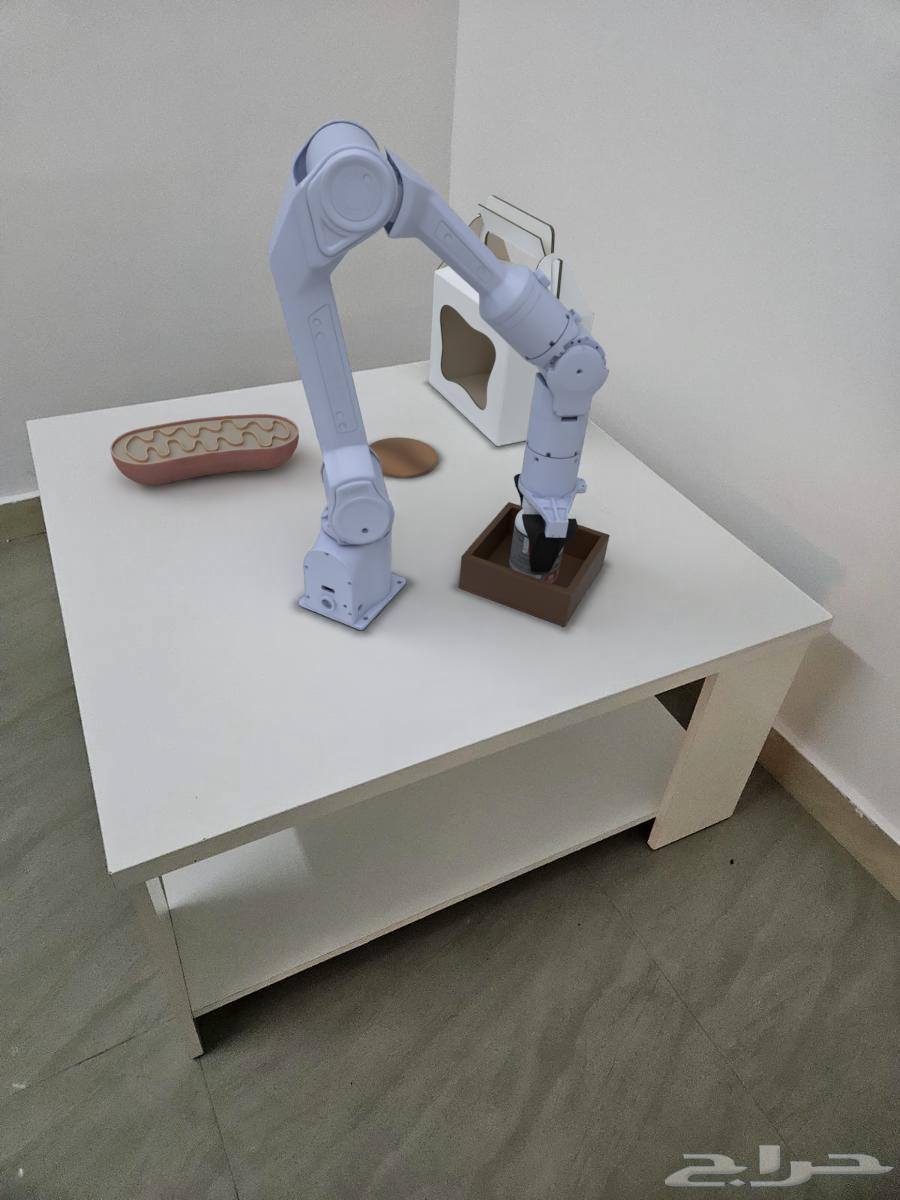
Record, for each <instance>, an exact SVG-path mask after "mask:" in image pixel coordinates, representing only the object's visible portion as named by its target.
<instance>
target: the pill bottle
mask: <svg viewBox="0 0 900 1200" xmlns="http://www.w3.org/2000/svg"><path fill="white" fill-rule="evenodd" d="M522 508H523V509H522V510H521V511H520V512H519V513H518V514H517V516H516V519H515V524H514V532H513V539H512V546H511V553H510V560H509V569H512V570H515V571H518V572H520V573H523V574H526V575H529V576H532V577H535V578H537V579H540V580H543V581H546V582H549V583H551V584H552V583H553V582H554V581H555V580H556V579H557V577H558V574H559V569H560V564H561V559H562V553H563V548H564V546H563V548H562V549H561V551H560V553H559V555H558V557H557V559H556V561H555V563H554V565H553V567H552V569H551V570H550V572H532V571H531V567H530V562H529V539H528V536H527V533H526V531H525V528H524V525H523V520H522V514H539V513H538V511H537V510H536V509H535V508H534V507H533V506H532V504H531V503H530V502H529V501H528V500H527V499H526V498H525V496H524V497H523V503H522Z"/></svg>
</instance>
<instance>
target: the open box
mask: <svg viewBox="0 0 900 1200" xmlns="http://www.w3.org/2000/svg"><path fill="white" fill-rule="evenodd" d="M520 511H521V504H520V505H519V504H517V503H514V502H510V501H508V502H507V503H506V505H504V506H503V508H502V509H501V510H500V511H499V512H498V513H497V515H495V517H494V518H493V519H492V520H491V522H490V523H489V524H488V525H487V526H486V527H485V528H484V530H483V531H482V532H481V533H480V534H478V535H479V536H478V537H477V538H476V539H475V540H474V541H473V542H472V543H471V545H470V546H468V548H467V549H466V550H465V551H464V553H463V554H462V555H461V557H460V567H459V578H458V579H459V580H458V589H460V590H463V591H466V592H469V593H471V594H474V595H476V596H479V597H482V598H485V599H488V600H490V601H493V602H495V603H498V604H501V605H504V606H507V607H509V608H512V609H515V610H517V611H519V612H523V613H526V614H528V615H531V616H533V617H536V618H539V619H542V620H543V621H547V622H550V623H552V624H554V625H558V626H561V627H563V628H565V627H566V626H567V624H568V623H569V621H570V619H571V618H572V617H573V615H574V613H575V611H576V610H577V608H578V606H579V605H580V603H581V602H582V599H583V598H584V596H585V595H586V593H587V592H588V590H589V589H590V587H591V585H592V584H593V582H594V580H595V579H596V578H597V576H598V574H599V573H600V571H601V570H602V568H603V566H604V562H605V557H606V554H607V549H608V544H609V541H610V537H611V535H610V534H609V533H606V532H602V531H599V530H596V529H593V528H591V527H588V526H584V525H581V524H578V530H577V533H576V534H575V535H574V536H573V537H572V538H571V539H570V540H569V541H568V542H567V543H566V544H565V545H564V548H563V553H562V559H561V564H560V569H559V574H558V577H557V579H556V580H555V581H554V582H553V583H552V584H551V583H549V582H546V581H543V580H540V579H537V578H535V577H532V576H529V575H526V574H523V573H520V572H518V571H515V570H512V569H509V560H510V553H511V546H512V539H513V532H514V524H515V519H516V516H517V514H518V513H519V512H520Z"/></svg>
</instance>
